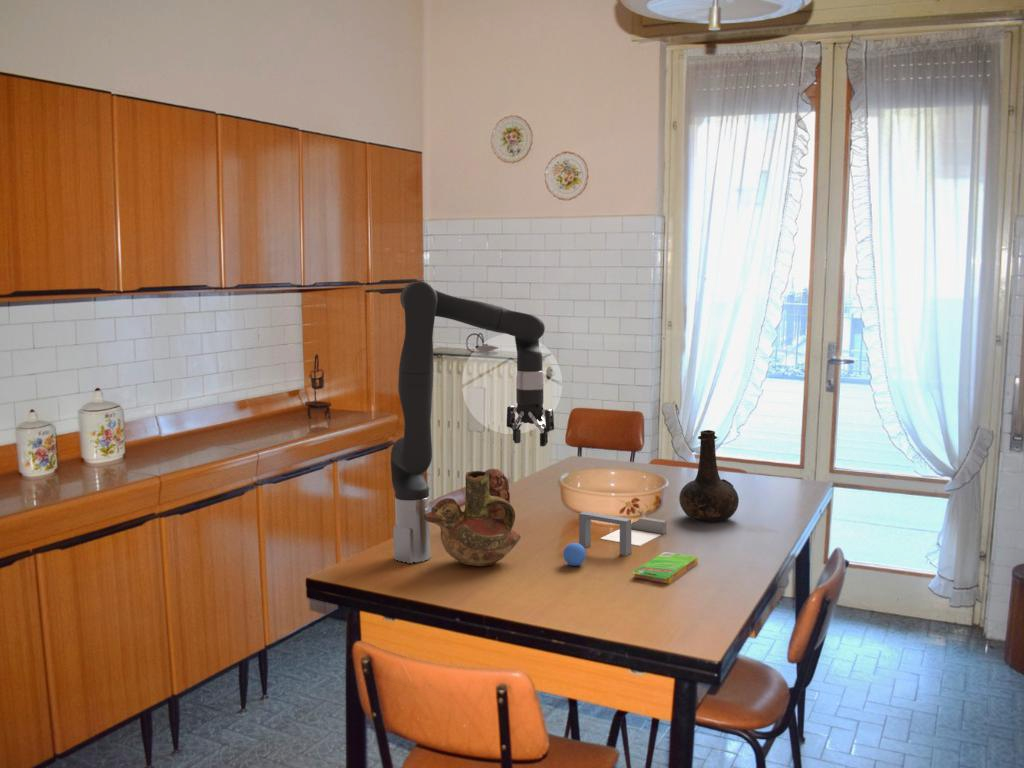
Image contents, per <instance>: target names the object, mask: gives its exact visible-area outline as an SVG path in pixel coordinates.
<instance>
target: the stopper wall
mask: <svg viewBox="0 0 1024 768" xmlns="http://www.w3.org/2000/svg"><path fill="white" fill-rule="evenodd" d="M642 517H643V518H642V519H639V520H638V521H636V522H633V523H632V524H631V530H637V531H643V532H649V533H655V534H660V535H664V534H666V533H667V520H664V519H657V518H650V517H644V516H642Z"/></svg>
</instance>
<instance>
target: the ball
mask: <svg viewBox="0 0 1024 768" xmlns="http://www.w3.org/2000/svg"><path fill="white" fill-rule="evenodd" d="M562 555H563V559H564V561H565V563H567V564H568V565H570V566H573V567H575V566H577V567H578V566H579V565H580V566H581V564H583V563H584V561H585V560H586V557H587V552H586V548H584V547H583V546H582V545H580V544H579V542H578V543H577V542H571V543H569V544H568V545H566V546H565V548H564V549H563V554H562Z"/></svg>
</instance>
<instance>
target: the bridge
mask: <svg viewBox="0 0 1024 768" xmlns="http://www.w3.org/2000/svg"><path fill="white" fill-rule="evenodd" d="M592 521H597V522H602V523H609V524H613V525H618V526H619V529H620V542H619V556H624V557H627V556H628V555H631V554H632V545H631V530H632V529H631V519H629V518H624V517H622V516H616V515H609V514H604V513H598V512H591V511H585V510H584V511H582V512H580V513H578V525H579V526H578V536H579V537H578V544H580V545H582V546H583V547H584V549H587V548H589V547H590V546H592V544H591V543H592V539H591V538H592V530H591V529H592V528H591V527H592V524H591V522H592Z"/></svg>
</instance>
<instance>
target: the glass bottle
mask: <svg viewBox="0 0 1024 768" xmlns="http://www.w3.org/2000/svg"><path fill="white" fill-rule="evenodd" d="M716 439H718V436H716V431H714V430H710V429H706V430H705V429H704V430H701V431H700V435H699V436H698V437H697V440H700V444H699V445H700V447H699V448H700V449H699V461H698V469H697V474H696V477H695V478H694V480H691V481H688V482H687V483H686V484H685V485H684V486H683V487H682V488H681V491H680V493H679V499H678V500H679V505H680V507H681V510H682V511H683V512H684V513H685V515H686V516H687V517H689V518H690V519H691V520H693V521H696V522H699V523H700V522H701V523H704V524H706V523H707V524H715V523H722V522H725V521H727V520H728V519H730V518H731V517H733V515H735V513H736V511H737V510H738V506H739V494H738V492H737V490H736V489H735V487H734V485H733V484H732V483H731V482H729V481H728V480H726V479H724V478H722V479H721V477H720V474H719V471H718V466H717V465H718V464H717V455H716Z"/></svg>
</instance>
